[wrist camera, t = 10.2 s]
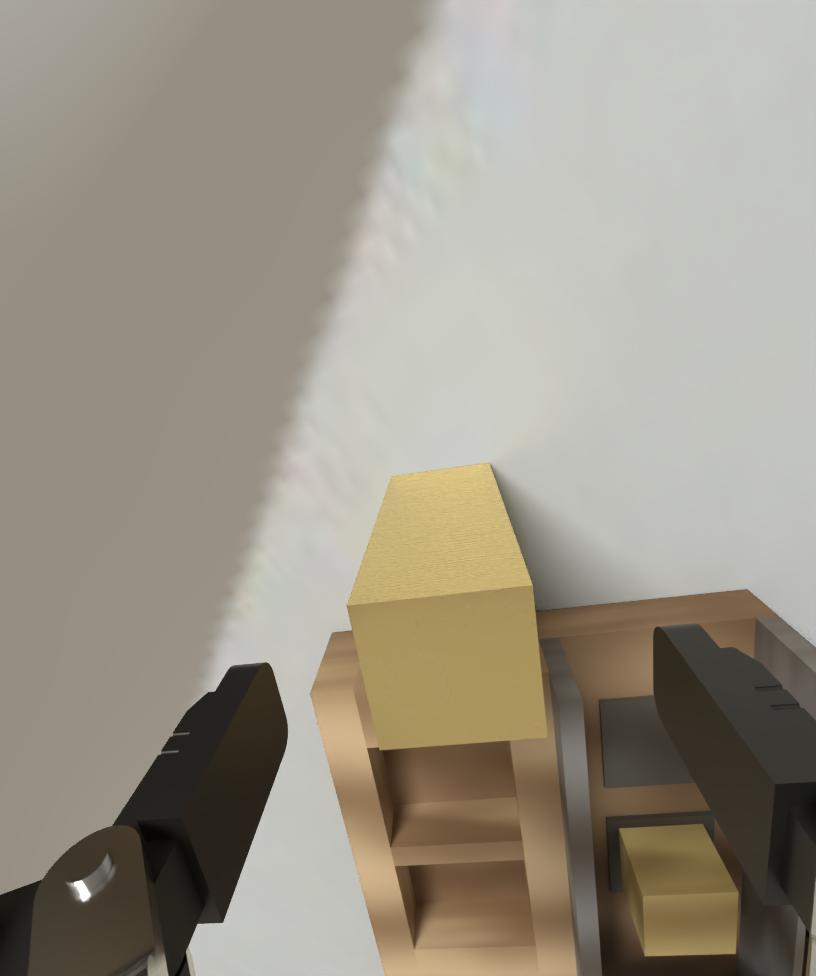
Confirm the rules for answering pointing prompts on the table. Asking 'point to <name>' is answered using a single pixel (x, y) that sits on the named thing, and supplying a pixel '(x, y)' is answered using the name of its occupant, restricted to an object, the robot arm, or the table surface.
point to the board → (562, 815)
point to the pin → (447, 616)
